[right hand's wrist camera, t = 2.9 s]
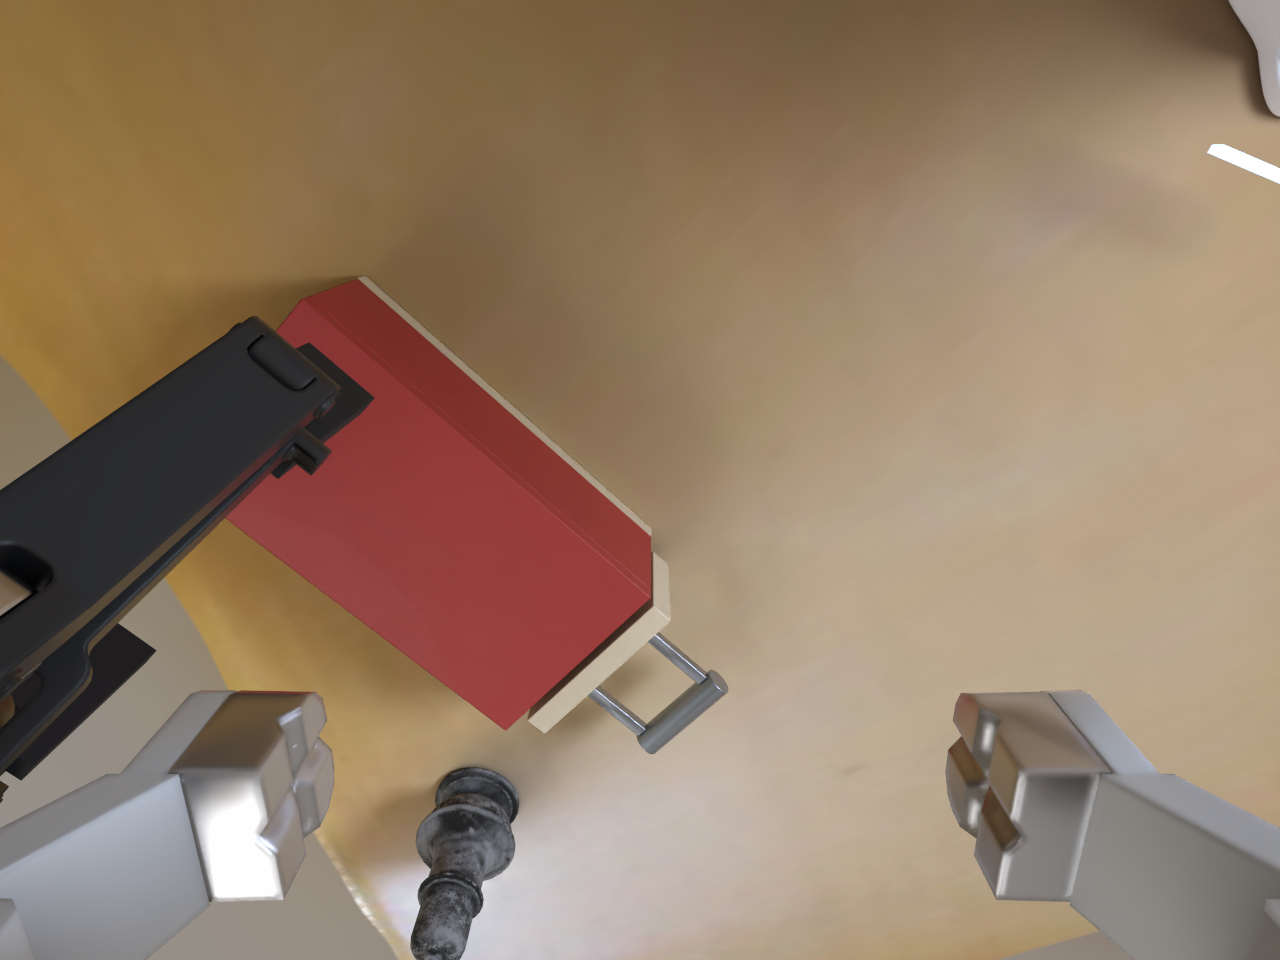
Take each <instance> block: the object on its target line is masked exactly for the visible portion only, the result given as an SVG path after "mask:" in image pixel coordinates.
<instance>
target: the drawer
mask: <svg viewBox="0 0 1280 960" xmlns="http://www.w3.org/2000/svg"><path fill="white" fill-rule="evenodd" d="M670 621H671V615H670V592H669V568H668V564H667V563H666V562H665V561H663V560H662V559H661V558H660V557H659V556H658V555H657V554H655V553H654V552H652V553H651V598H650V599H649V600H648V601H647V602H646V603H645V604H643V605H642V606H641V607H640V608H639V609H638V610H637V611H636V612H635V613H634V614H633V615H631V616H630V617H629V618H628V619H627V620H626V621H625V622H624V623H623V624H622V625H621V626H619V627H618V628H617V629H616V630H615V631H614V632H613V633H612V634H611V635H610V636H609V637H607V638H606V639H605V640H604V641H603V642H602V643H601V644H600V645H599V646H598V647H596V648H595V649H594V650H593V651H592V652H591V653H590V654H589V655H588V656H587V657H586V658H584V659H583V660H582V661H581V662H580V663H579V664H578V665H577V666H576V667H575V668H574V669H572V670H571V671H570V672H569V673H568V674H567V675H566V676H565V677H564V678H563V679H562V680H560V681H559V682H558V683H557V684H556V685H555V686H554V687H553V688H552V689H551V690H549V691H548V692H547V693H546V694H545V695H544V696H543V697H542V698H541V699H540V700H539V701H537V702H536V703H535V704H534V705H533V706H532V707H531V708H530V711H529V716H528V722H530V723H531V724H532V725H534V726H535V727H536V728H537V729H539V730H540V731H541V732H543V733H544V734H545V733H546V732H547V731H548V730H550V729H551V728H552V727H553V726H554V725H555V724H556V723H557V722H558V721H560V720H561V719H562V718H563V717H564V716H565V715H566V714H567V713H569V712H570V711H571V710H572V709H573V708H574V707H575V706H576V705H577V704H579V703H580V702H581V701H582V700H583V699H584V698H585V697H586V696H589V697H590V698H591V699H593V700H594V701H595V702H596V703H598V704H599V705H600V706H601V707H603V708H604V709H605V710H606V711H608V712H609V713H610V714H612V715H613V716H614V717H615V718H617V719H618V720H619V721H620V722H622V723H623V724H624V725H625V726H627V727H628V728H629V729H630V730H632V731H633V732H634V733H635V734H637V739H638V742H639V744H640V745H641V747H642V748H643V749H644V750H645V751H646V752H648V753H649V754H655V753H656V752H657V751H658V750H660V749H661V748H662V747H663V746H664V745H666V744H667V743H668V742H669V741H670V740H671V739H673V738H674V737H675V736H676V735H677V734H679V733H680V732H681V731H682V730H683V729H685V728H686V727H687V726H688V725H689V724H691V723H692V722H693V721H694V720H695V719H696V718H698V717H699V716H700V715H701V714H702V713H704V712H705V711H706V710H707V709H708V708H710V707H711V706H712V705H713V704H714V703H715V702H717V701H718V700H719V699H720V698H721V697H723V696H724V695H725V694H726V693H727V692H728V686H727V684H726V682H725V681H724V679H723V678H722V677H721V676H720V675H719V674H718V673H717V672H715V671H714V670H709V671H708V672H707V673H706V671H704V670H703V669H702V668H701V667H700V666H698V665H697V664H696V663H695V662H694V661H693V660H691V659H690V658H689V657H688V656H687V655H685V654H684V653H683V652H682V651H681V650H680V649H678V648H677V647H676V646H675V645H674V644H672V643H671V642H670V641H669V640H668V639H666V638H665V637H664V636H663V635H662V634H661V633H659V631H660V630H661V629H662V628H663V627H665V626H666V625H667V624H668V623H669V622H670ZM647 642H649V643H650V644H651V645H652V646H653V647H655V648H656V649H657V650H658V651H659V652H661V653H662V654H663V655H664V656H665V657H667V658H668V659H669V660H670V661H671V662H673V663H674V664H675V665H676V666H677V667H679V668H680V669H681V670H682V671H683V672H685V673H686V674H687V675H688V676H689V677H691V678H692V679H693V680H694V681H695V683H694V684H693V685H692V686H691V687H690V688H688V689H687V690H686V691H685V692H684V693H683V694H681V695H680V696H679V697H678V698H677V699H676V700H674V701H673V702H672V703H671V704H670V705H669V706H667V707H666V708H665V709H664V710H663V711H662V712H660V713H659V714H658V715H657V716H656V717H655V718H653V719H652V720H651V721H650V722H649V723H648V724H646V723H645V722H644V721H642V720H641V719H640V718H639V717H638V716H636V715H635V714H634V713H633V712H631V711H630V710H629V709H628V708H626V707H625V706H624V705H623V704H621V703H620V702H619V701H618V700H616V699H615V698H614V697H613V696H611V695H610V694H609V693H608V692H606V691H605V690H604V689H603V688H601V687H600V686H599V685H600V684H601V683H602V682H603V681H604V680H605V679H606V678H608V677H609V676H610V675H611V674H612V673H613V672H614V671H615V670H617V669H618V668H619V667H620V666H621V665H622V664H623V663H624V662H625V661H627V660H628V659H629V658H630V657H631V656H632V655H633V654H634V653H636V652H637V651H638V650H639V649H640V648H641V647H642V646H643V645H644V644H646V643H647Z"/></svg>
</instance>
